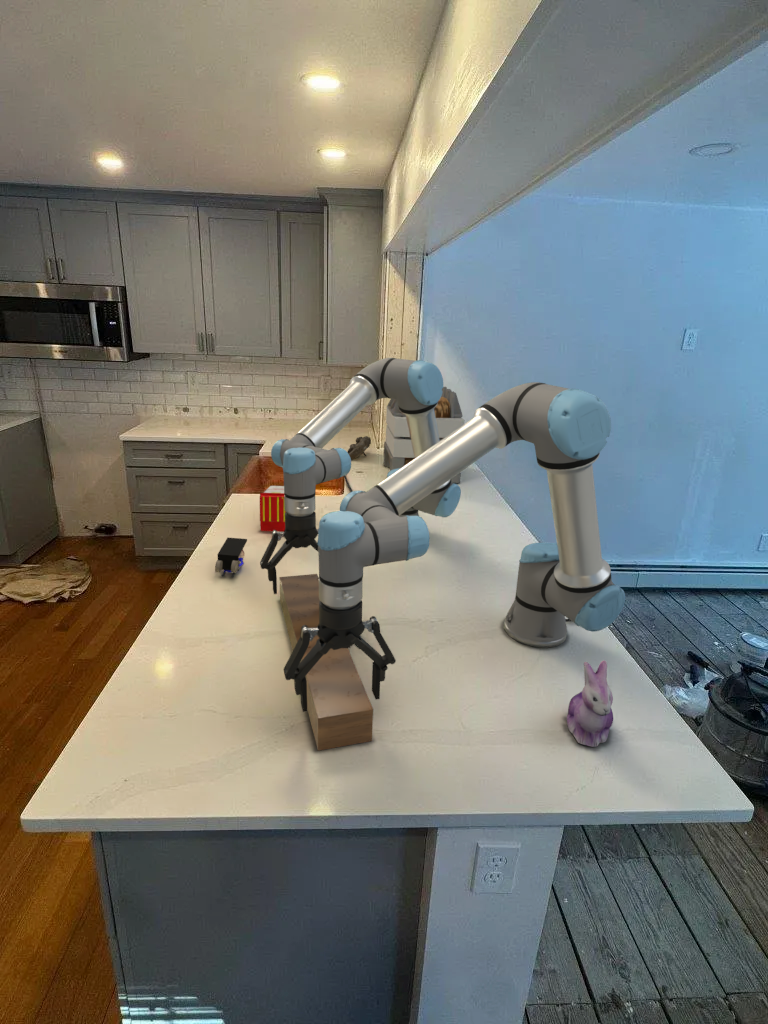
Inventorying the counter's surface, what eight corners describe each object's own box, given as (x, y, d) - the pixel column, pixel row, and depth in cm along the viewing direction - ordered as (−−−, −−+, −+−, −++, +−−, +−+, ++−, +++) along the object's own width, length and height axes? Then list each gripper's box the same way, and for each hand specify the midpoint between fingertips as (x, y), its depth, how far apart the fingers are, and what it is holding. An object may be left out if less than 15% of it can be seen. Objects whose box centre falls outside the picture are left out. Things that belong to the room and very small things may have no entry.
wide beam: (279, 601, 151) (279, 577, 149) (317, 597, 154) (317, 573, 152) (317, 750, 101) (318, 718, 99) (371, 741, 104) (373, 709, 102)
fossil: (346, 442, 311) (368, 427, 306) (357, 455, 314) (379, 440, 309) (340, 456, 291) (363, 440, 286) (351, 470, 294) (374, 454, 289)
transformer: (382, 463, 289) (386, 382, 275) (445, 464, 293) (451, 384, 279) (390, 482, 257) (394, 392, 243) (460, 483, 261) (468, 394, 247)
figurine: (591, 756, 102) (606, 687, 97) (551, 721, 111) (563, 655, 106) (628, 741, 107) (644, 673, 101) (587, 708, 115) (599, 644, 110)
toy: (300, 481, 221) (289, 494, 192) (300, 514, 224) (289, 533, 194) (268, 480, 221) (253, 493, 191) (269, 514, 223) (254, 532, 194)
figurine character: (238, 584, 162) (249, 557, 175) (236, 562, 158) (247, 536, 172) (215, 584, 161) (227, 556, 175) (212, 561, 158) (225, 535, 171)
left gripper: (249, 520, 132) (253, 601, 139) (353, 513, 139) (352, 590, 146) (246, 509, 139) (251, 587, 146) (346, 503, 146) (345, 577, 153)
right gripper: (269, 619, 91) (274, 726, 99) (416, 601, 98) (410, 702, 105) (265, 597, 98) (270, 698, 105) (402, 582, 105) (398, 678, 112)
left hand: (301, 588), depth 146 cm, fingers open, 13 cm apart
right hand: (340, 700), depth 105 cm, fingers open, 13 cm apart
